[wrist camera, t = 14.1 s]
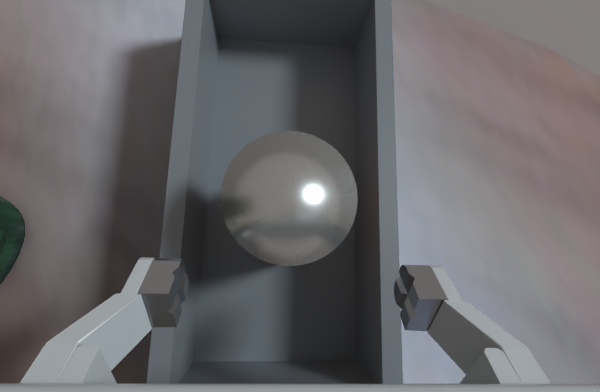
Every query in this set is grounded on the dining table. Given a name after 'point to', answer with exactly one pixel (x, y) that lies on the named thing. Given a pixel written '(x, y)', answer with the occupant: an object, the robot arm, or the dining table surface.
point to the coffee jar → (10, 236)
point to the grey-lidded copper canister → (289, 198)
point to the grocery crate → (213, 165)
